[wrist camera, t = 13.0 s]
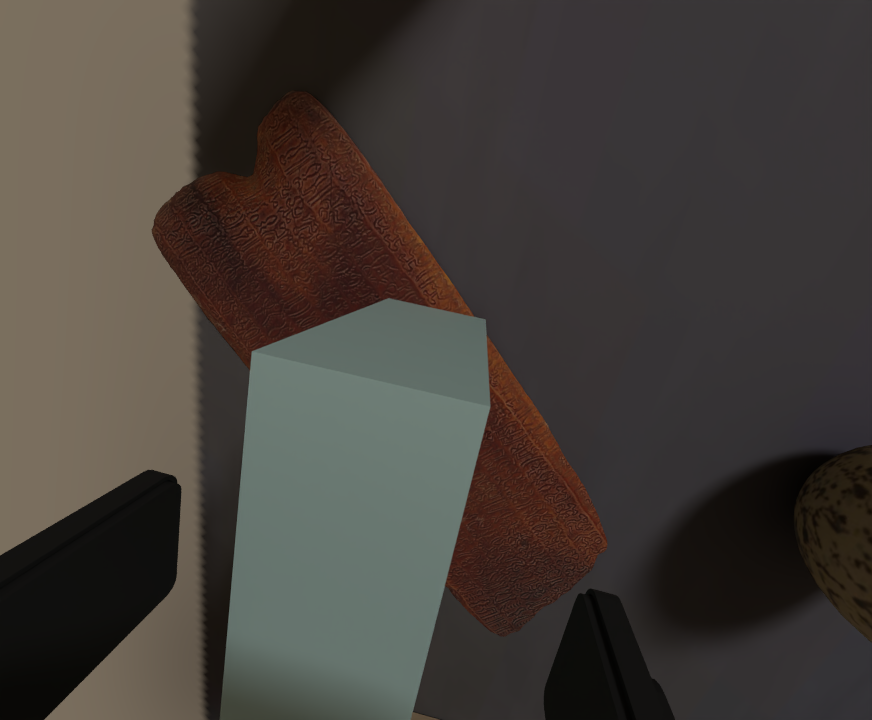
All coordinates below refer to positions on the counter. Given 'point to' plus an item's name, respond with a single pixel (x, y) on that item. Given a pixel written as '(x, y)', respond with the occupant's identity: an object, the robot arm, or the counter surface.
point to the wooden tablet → (358, 288)
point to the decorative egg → (840, 533)
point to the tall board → (351, 510)
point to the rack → (421, 717)
